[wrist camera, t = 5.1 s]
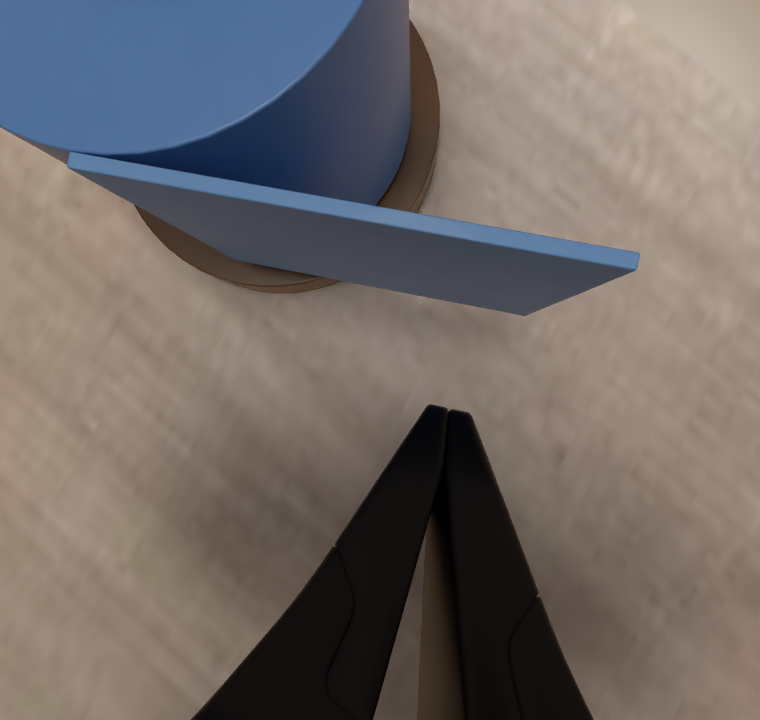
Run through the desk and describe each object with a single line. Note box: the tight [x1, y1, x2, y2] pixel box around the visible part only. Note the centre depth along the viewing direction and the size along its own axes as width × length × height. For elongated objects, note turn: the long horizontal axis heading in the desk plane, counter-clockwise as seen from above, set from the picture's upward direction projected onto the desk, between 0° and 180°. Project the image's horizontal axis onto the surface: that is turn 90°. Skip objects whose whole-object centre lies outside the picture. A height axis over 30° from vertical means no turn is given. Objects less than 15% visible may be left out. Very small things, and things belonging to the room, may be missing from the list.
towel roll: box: [0, 0, 640, 316], centre depth 11 cm, size 10×15×10 cm
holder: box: [134, 19, 440, 293], centre depth 17 cm, size 12×12×2 cm
